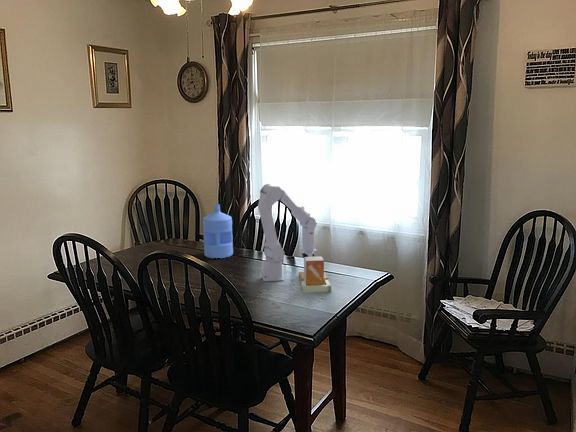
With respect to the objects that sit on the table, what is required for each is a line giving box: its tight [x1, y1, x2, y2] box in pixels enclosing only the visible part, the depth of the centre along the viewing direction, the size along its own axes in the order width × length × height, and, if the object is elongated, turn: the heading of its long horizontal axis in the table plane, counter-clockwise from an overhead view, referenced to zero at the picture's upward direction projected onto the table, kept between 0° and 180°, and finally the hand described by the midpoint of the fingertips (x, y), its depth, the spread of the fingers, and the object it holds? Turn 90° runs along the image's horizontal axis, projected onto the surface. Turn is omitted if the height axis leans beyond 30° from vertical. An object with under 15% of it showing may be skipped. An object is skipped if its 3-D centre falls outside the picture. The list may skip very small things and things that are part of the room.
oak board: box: [298, 271, 329, 282], centre depth 226 cm, size 12×10×3 cm
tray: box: [300, 279, 332, 294], centre depth 215 cm, size 12×8×2 cm, turn 96°
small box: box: [303, 255, 325, 286], centre depth 217 cm, size 8×6×13 cm
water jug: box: [202, 203, 234, 260], centre depth 265 cm, size 16×16×28 cm
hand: (307, 268), depth 238 cm, fingers closed
